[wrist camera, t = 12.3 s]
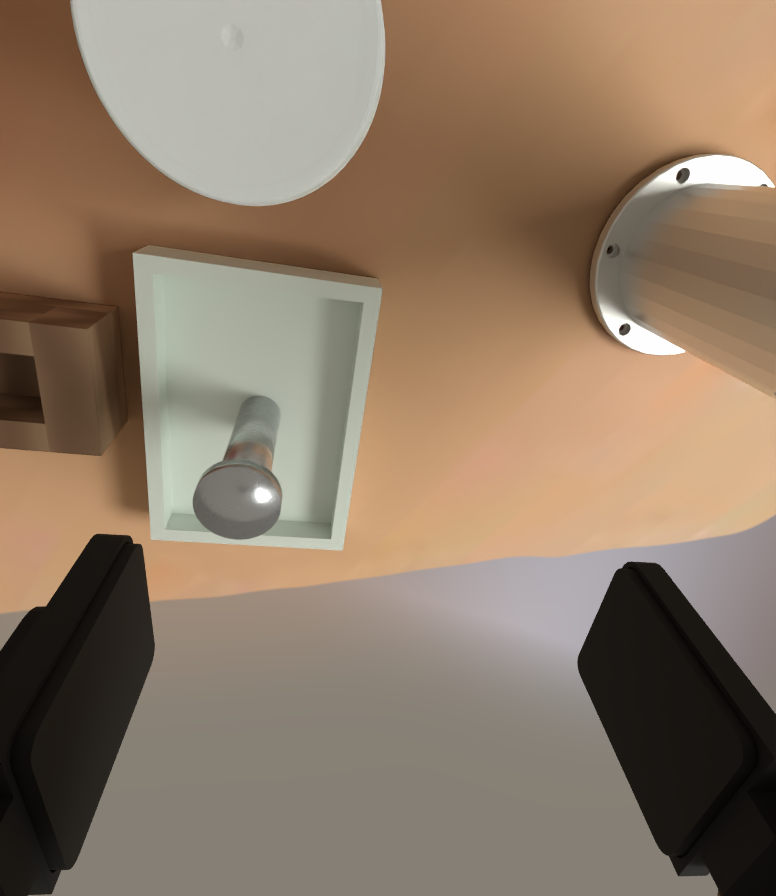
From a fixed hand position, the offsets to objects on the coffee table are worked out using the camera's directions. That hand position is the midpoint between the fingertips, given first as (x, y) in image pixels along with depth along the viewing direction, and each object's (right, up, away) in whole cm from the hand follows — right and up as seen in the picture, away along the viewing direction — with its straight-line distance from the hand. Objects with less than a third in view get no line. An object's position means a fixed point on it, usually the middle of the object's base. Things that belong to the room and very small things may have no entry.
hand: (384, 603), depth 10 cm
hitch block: (-22, +9, +23) cm, 34 cm away
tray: (-9, +6, +27) cm, 29 cm away
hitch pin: (-9, +5, +26) cm, 28 cm away
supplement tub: (-6, +23, +18) cm, 30 cm away
